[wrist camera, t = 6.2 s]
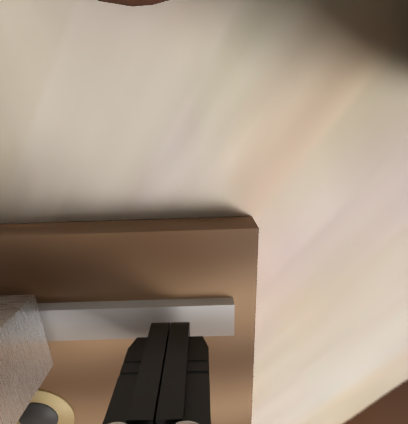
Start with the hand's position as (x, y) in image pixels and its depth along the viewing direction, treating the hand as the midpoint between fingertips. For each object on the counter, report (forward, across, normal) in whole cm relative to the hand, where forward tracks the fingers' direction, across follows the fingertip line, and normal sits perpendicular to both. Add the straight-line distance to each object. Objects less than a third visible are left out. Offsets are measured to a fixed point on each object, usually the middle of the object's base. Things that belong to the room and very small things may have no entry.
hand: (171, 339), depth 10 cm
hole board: (+3, +8, +3) cm, 9 cm away
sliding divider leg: (+1, +7, +2) cm, 8 cm away
